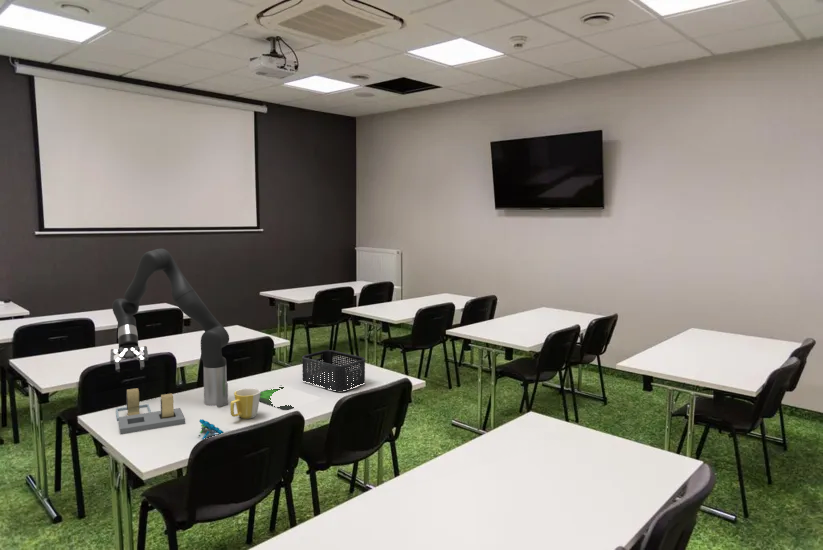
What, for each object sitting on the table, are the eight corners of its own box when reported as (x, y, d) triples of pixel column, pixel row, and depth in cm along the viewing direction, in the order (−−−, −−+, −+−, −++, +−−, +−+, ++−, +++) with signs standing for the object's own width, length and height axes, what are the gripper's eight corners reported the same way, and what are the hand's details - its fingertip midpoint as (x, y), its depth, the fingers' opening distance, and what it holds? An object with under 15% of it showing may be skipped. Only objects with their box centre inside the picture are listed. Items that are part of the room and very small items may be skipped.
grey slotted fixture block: (180, 414, 215) (180, 407, 215) (185, 426, 204) (185, 418, 204) (118, 424, 204) (118, 417, 204) (120, 436, 193) (120, 429, 193)
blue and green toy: (229, 433, 195) (209, 419, 189) (220, 448, 192) (199, 434, 186) (215, 429, 202) (195, 415, 197) (205, 443, 199) (185, 429, 194)
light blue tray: (148, 408, 222) (148, 403, 221) (151, 418, 211) (151, 413, 211) (115, 413, 215) (115, 408, 215) (117, 423, 205) (117, 418, 205)
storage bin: (299, 381, 263) (299, 355, 262) (327, 373, 279) (327, 348, 277) (340, 394, 246) (340, 366, 245) (367, 384, 262) (368, 358, 260)
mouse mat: (323, 398, 241) (323, 396, 241) (286, 412, 223) (286, 409, 223) (282, 386, 256) (282, 384, 256) (245, 398, 238) (245, 395, 238)
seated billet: (172, 417, 210) (171, 393, 209) (173, 421, 206) (173, 396, 205) (160, 419, 208) (160, 395, 206) (161, 423, 204) (161, 398, 203)
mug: (251, 410, 223) (251, 386, 222) (265, 416, 217) (265, 391, 216) (221, 419, 212) (221, 393, 211) (236, 425, 206) (236, 399, 205)
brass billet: (138, 411, 216) (137, 388, 215) (139, 415, 213) (138, 391, 212) (126, 413, 214) (126, 389, 213) (127, 416, 210) (126, 392, 209)
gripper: (109, 334, 224) (110, 367, 215) (146, 331, 231) (149, 363, 223) (109, 343, 229) (110, 376, 220) (145, 340, 236) (148, 372, 228)
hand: (130, 370), depth 222 cm, fingers open, 8 cm apart
